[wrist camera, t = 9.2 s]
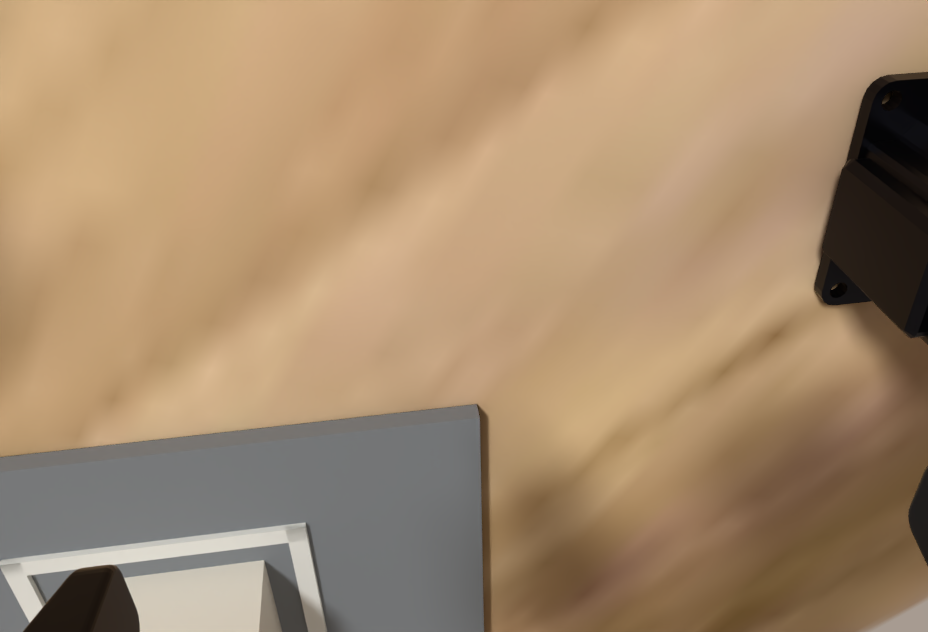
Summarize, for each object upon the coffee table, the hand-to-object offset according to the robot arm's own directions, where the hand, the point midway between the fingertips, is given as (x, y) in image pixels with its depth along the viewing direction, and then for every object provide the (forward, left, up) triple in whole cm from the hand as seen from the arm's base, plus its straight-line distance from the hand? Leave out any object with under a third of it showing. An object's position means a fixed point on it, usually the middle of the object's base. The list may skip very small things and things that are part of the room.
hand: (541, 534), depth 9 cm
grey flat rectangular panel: (+7, +15, -12) cm, 21 cm away
